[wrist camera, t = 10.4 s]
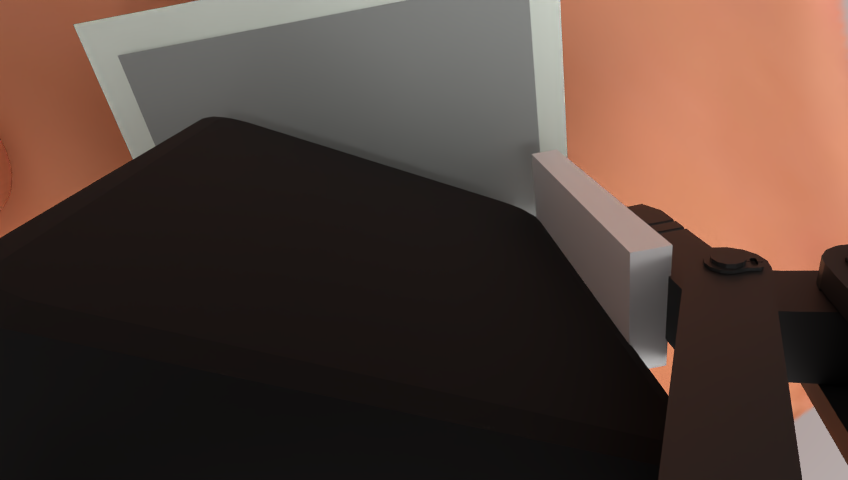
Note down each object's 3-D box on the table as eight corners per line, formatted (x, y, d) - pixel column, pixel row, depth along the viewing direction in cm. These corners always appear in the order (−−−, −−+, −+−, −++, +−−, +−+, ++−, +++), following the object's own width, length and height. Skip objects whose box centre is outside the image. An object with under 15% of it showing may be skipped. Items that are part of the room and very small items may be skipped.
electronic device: (214, 107, 14) (-114, 296, 5) (535, 208, 16) (734, 475, 7) (192, 237, 15) (-84, 562, 6) (486, 313, 17) (594, 644, 8)
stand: (254, 348, 23) (234, 399, 20) (124, 22, 17) (67, 24, 14) (552, 293, 23) (578, 336, 20) (529, -56, 17) (560, -71, 14)
